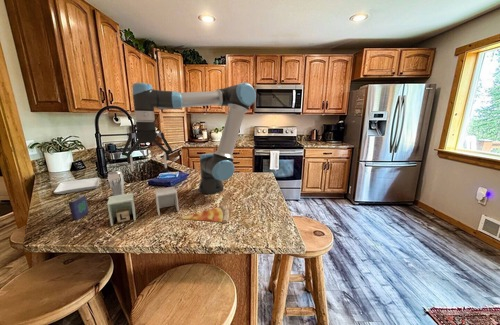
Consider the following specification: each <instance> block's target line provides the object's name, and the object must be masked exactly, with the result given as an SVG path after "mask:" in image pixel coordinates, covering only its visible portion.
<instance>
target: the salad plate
mask: <svg viewBox="0 0 500 325" xmlns="http://www.w3.org/2000/svg"><path fill="white" fill-rule="evenodd" d="M99 183H100V177H93V178H92V177H91V178H84V179H83V178H82V179H75V180H69V181H63V182H60V183H58V186H57V187H56V188H55V190H53V193H54V194H56V195H65V194H66V193H67V194H72V193H77V192H78V193H79V192H85V191H91V190H94V189H97V188H98V187H99V185H100V184H99Z"/></svg>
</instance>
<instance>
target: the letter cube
mask: <svg viewBox="0 0 500 325" xmlns="http://www.w3.org/2000/svg"><path fill="white" fill-rule="evenodd" d="M116 214H117V217H116V220H117V223H123V222H127V221H130V220H131V214H130V212H129V207H126V208H121V209H117V212H116Z"/></svg>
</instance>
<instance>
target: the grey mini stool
mask: <svg viewBox="0 0 500 325" xmlns="http://www.w3.org/2000/svg"><path fill="white" fill-rule="evenodd" d="M154 195H155V204H156V209H157V210H156V211H157V214H158V216H160V217H161V212H160V209H163V208H168V207H173V206H174V208H175V209H176V212H180V208H179V199H178V196H179V195H178V191H177V189H176V187H175V186H168V187H162V188H157V189H156V188H155V189H154Z"/></svg>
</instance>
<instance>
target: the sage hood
mask: <svg viewBox="0 0 500 325" xmlns="http://www.w3.org/2000/svg"><path fill="white" fill-rule="evenodd" d="M106 205H107V210H108V211H107V212H108V216H109V222H110V227H113V226H114V221H115V218H117V214H116V212H117V209H121V208H126V207H129V212H130V215H132V216H133V221H134V222H136V221H137V219H136V217H137V216H136V208H135V199H134V194H133V192H131V193H130V192H129V193H124V195H118V196H113V195H111V196H109V197H108V200H107V204H106Z"/></svg>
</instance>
